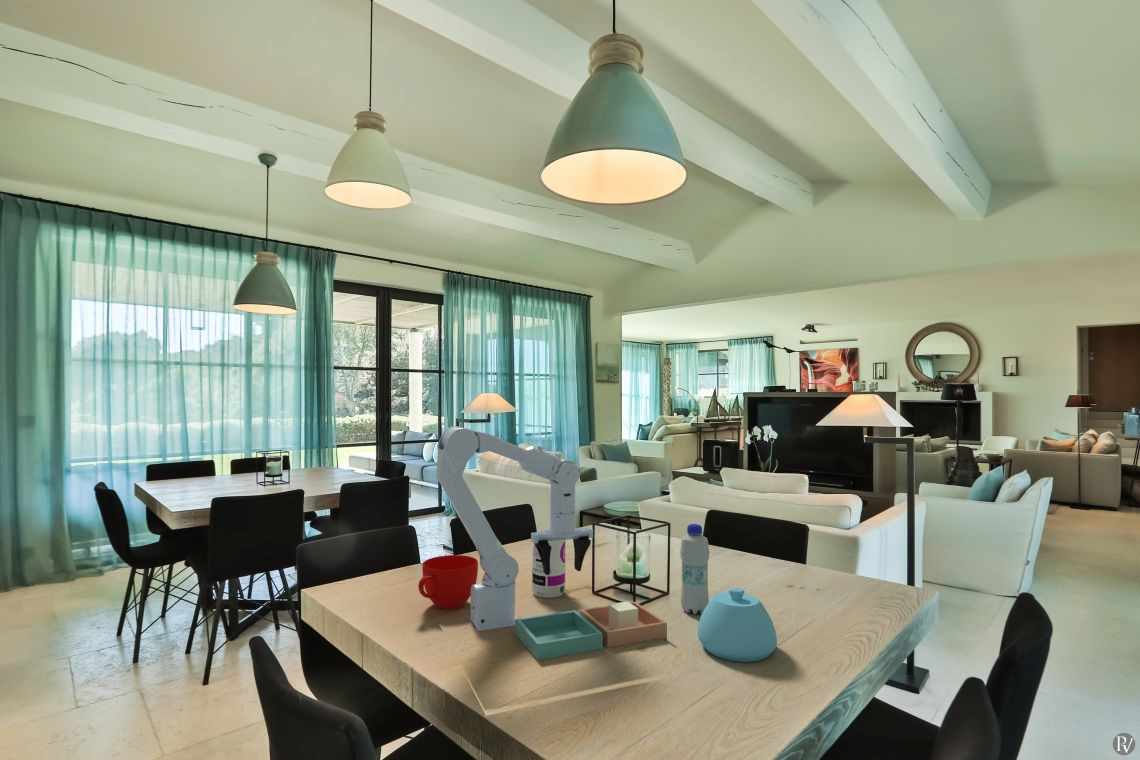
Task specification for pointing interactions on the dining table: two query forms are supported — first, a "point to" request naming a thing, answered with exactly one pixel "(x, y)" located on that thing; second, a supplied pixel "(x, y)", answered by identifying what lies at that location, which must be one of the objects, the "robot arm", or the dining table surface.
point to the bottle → (694, 570)
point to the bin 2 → (645, 631)
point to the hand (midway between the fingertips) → (562, 571)
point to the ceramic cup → (448, 580)
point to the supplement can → (556, 580)
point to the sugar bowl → (737, 627)
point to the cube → (622, 615)
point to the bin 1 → (558, 634)
